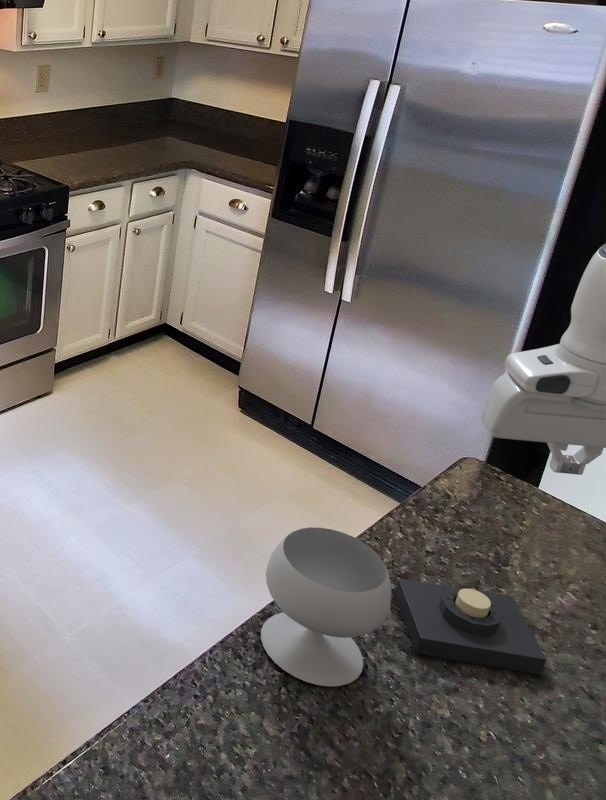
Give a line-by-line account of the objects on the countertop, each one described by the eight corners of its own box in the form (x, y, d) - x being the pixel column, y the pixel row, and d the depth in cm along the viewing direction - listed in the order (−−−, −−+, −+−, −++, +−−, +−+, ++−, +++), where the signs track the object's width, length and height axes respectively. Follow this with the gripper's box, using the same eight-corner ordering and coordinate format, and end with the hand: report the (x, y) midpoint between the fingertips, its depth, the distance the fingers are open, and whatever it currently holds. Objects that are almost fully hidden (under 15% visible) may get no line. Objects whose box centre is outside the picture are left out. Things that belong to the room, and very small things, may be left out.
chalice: (290, 593, 111) (310, 507, 105) (391, 657, 101) (420, 565, 95) (231, 641, 104) (248, 551, 97) (334, 715, 93) (361, 619, 87)
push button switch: (481, 601, 104) (485, 590, 104) (491, 621, 101) (495, 610, 101) (451, 596, 105) (454, 586, 104) (460, 616, 102) (463, 605, 101)
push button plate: (506, 611, 108) (516, 585, 106) (540, 675, 98) (551, 648, 97) (394, 593, 111) (401, 568, 109) (415, 653, 102) (424, 627, 100)
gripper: (688, 367, 93) (649, 466, 99) (492, 353, 98) (465, 448, 104) (722, 394, 88) (678, 496, 94) (512, 377, 93) (483, 476, 98)
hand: (564, 471), depth 99 cm, fingers closed
